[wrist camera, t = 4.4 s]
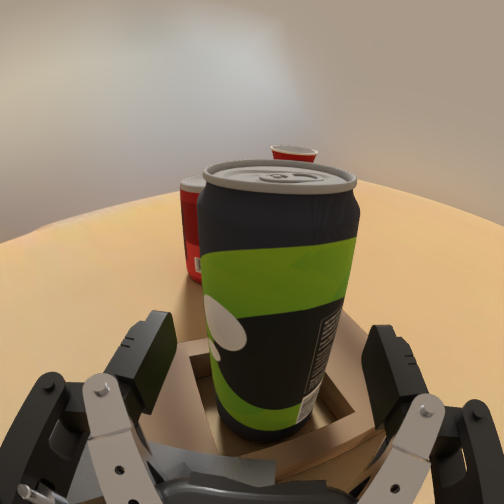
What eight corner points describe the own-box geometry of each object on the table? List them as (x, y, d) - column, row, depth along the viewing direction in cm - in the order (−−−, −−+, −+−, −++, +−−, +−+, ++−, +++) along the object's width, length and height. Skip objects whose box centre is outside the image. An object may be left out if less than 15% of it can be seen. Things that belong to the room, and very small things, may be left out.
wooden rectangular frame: (146, 507, 9) (131, 497, 8) (128, 373, 18) (119, 351, 17) (409, 413, 15) (424, 393, 14) (333, 327, 24) (339, 305, 23)
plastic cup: (284, 206, 58) (286, 149, 53) (260, 194, 67) (261, 145, 61) (324, 202, 62) (328, 150, 57) (298, 191, 71) (300, 145, 66)
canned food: (265, 278, 32) (269, 182, 27) (198, 295, 29) (189, 190, 24) (238, 252, 38) (237, 170, 33) (180, 263, 35) (173, 177, 30)
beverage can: (293, 367, 20) (318, 159, 13) (323, 432, 15) (400, 189, 8) (212, 380, 19) (193, 161, 12) (226, 454, 13) (199, 191, 7)
